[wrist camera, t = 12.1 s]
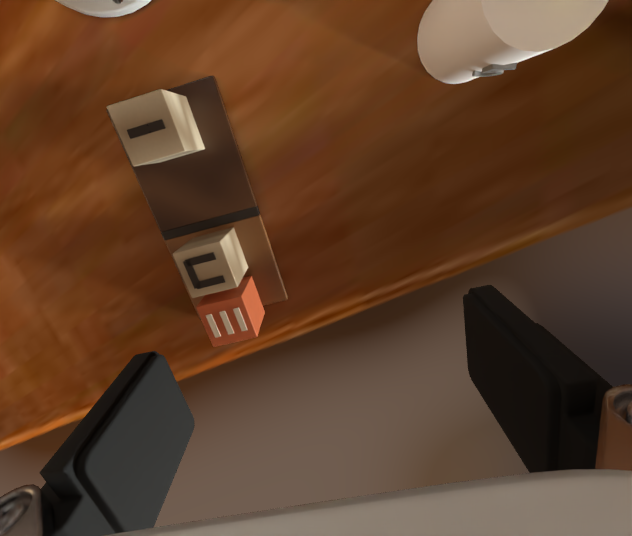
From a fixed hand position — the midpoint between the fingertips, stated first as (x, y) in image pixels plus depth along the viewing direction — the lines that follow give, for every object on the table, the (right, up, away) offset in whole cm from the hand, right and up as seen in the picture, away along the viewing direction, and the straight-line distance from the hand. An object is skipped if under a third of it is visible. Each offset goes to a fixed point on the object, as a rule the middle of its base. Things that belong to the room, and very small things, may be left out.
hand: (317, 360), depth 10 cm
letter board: (-10, +8, +20) cm, 23 cm away
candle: (+11, +20, +15) cm, 27 cm away
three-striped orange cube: (-8, 0, +22) cm, 23 cm away
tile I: (-12, +14, +17) cm, 24 cm away
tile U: (-9, +4, +20) cm, 22 cm away
